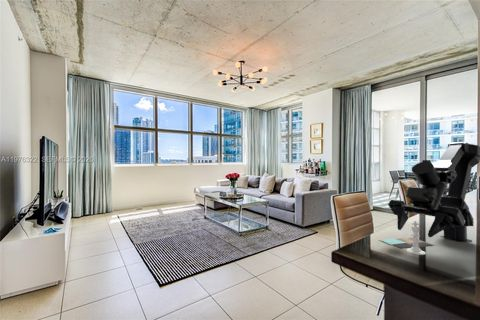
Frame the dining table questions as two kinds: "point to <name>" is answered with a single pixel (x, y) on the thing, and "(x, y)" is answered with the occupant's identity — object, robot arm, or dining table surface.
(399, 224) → the robot arm
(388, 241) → the pad
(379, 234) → the dining table surface
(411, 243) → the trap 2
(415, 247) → the chess piece
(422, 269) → the dining table surface
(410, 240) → the walnut board
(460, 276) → the dining table surface
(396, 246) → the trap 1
